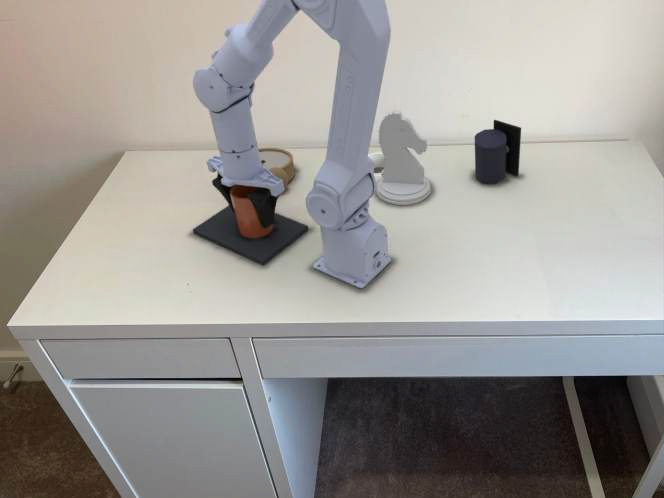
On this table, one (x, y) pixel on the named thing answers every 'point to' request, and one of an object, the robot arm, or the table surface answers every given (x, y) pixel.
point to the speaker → (497, 152)
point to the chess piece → (401, 162)
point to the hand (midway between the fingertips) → (254, 219)
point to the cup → (247, 212)
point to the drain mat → (257, 249)
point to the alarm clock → (278, 163)
